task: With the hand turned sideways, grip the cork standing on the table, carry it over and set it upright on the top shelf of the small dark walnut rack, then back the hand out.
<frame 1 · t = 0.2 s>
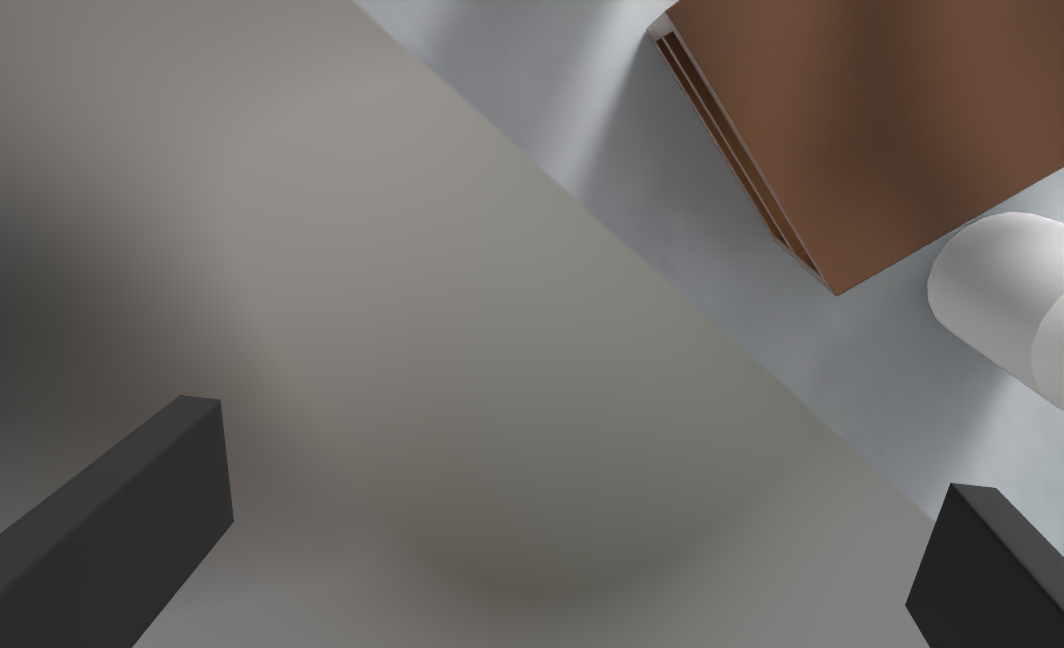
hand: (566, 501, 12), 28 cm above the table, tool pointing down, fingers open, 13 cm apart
can: (987, 272, 37), on the table
walnut rack: (814, 73, 34), on the table
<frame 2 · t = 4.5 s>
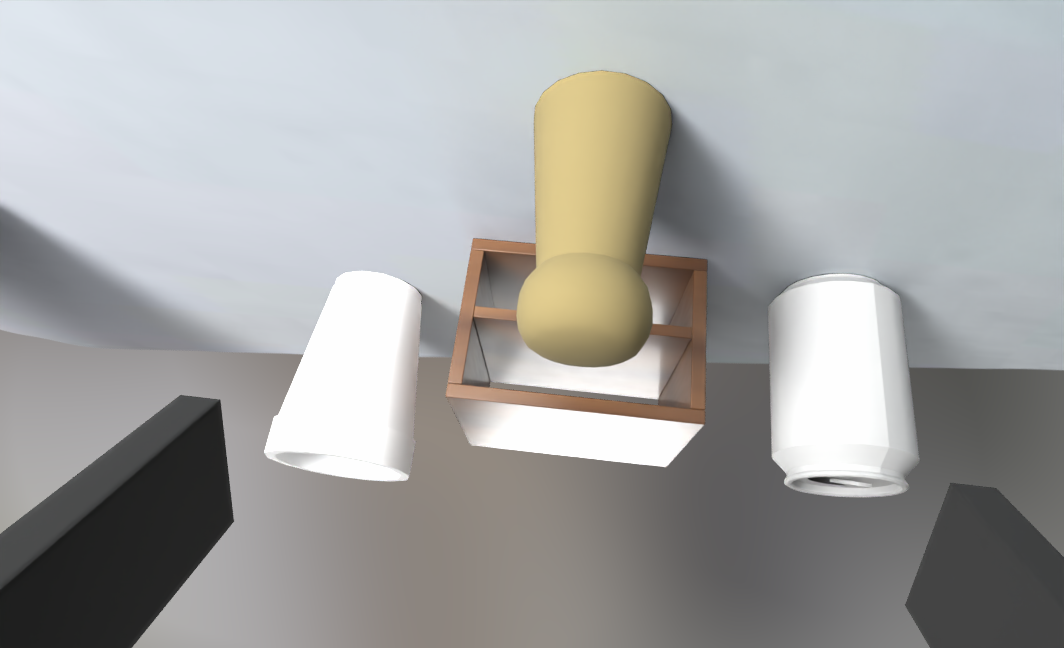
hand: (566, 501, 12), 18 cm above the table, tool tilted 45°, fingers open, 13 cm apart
can: (831, 292, 40), on the table
walnut rack: (583, 292, 44), on the table
foam cup: (380, 288, 48), on the table
cork: (602, 119, 28), on the table
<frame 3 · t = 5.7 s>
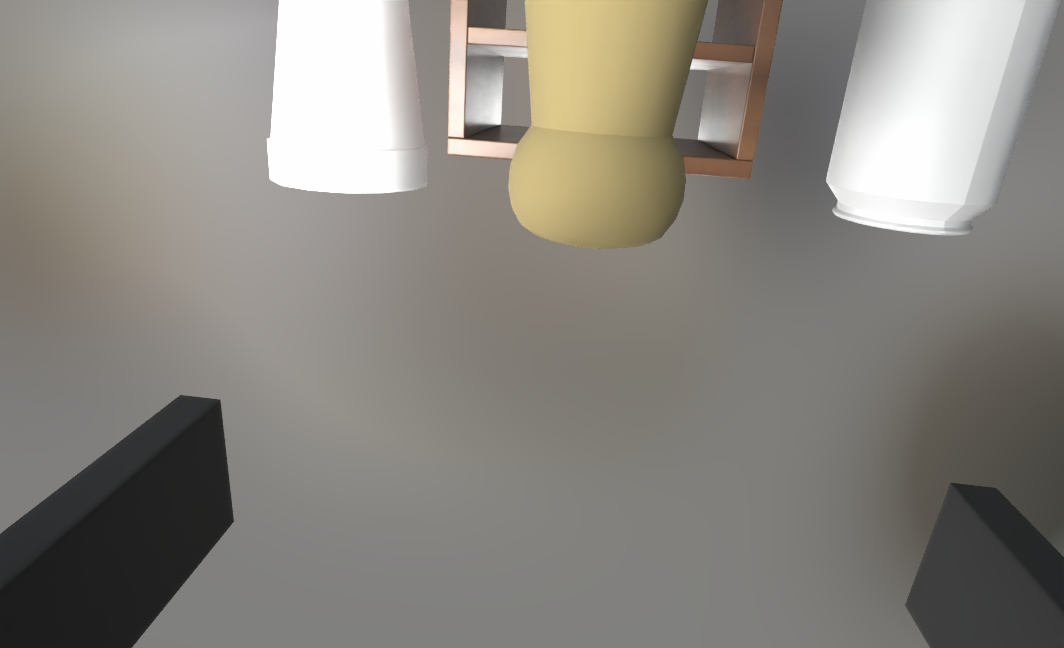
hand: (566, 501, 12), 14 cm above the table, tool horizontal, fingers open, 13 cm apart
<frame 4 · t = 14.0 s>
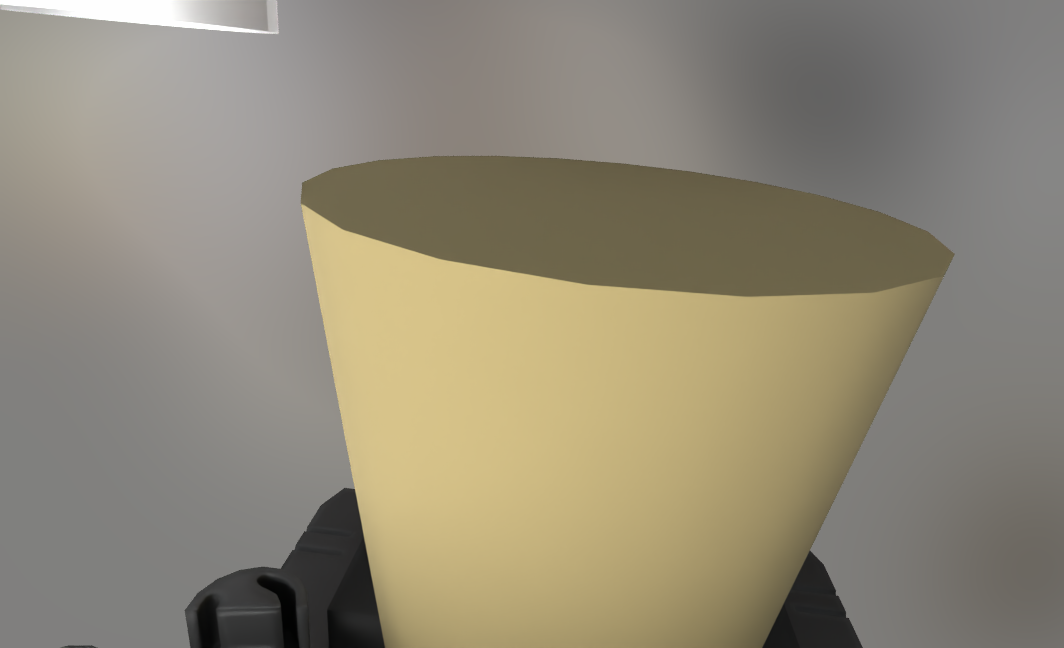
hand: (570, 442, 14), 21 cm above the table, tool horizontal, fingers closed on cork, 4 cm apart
cork: (615, 178, 6), point 14 cm above the table, touching gripper
when the fingers open (16 cm above the table, at t = 17.3 s): cork stays where it is, resting on walnut rack.
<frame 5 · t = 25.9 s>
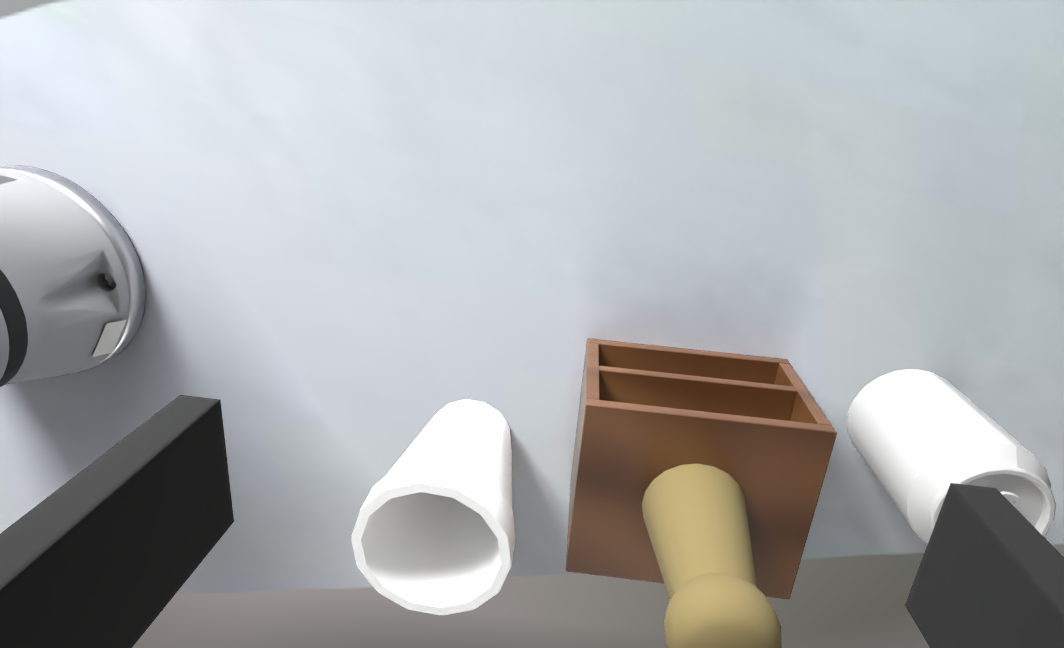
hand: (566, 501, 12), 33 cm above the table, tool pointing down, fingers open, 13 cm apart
can: (896, 410, 46), on the table
walnut rack: (673, 422, 48), on the table
foam cup: (471, 434, 50), on the table
cork: (692, 505, 39), point 10 cm above the table, touching walnut rack
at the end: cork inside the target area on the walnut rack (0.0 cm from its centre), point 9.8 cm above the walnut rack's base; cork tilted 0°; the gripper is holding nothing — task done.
